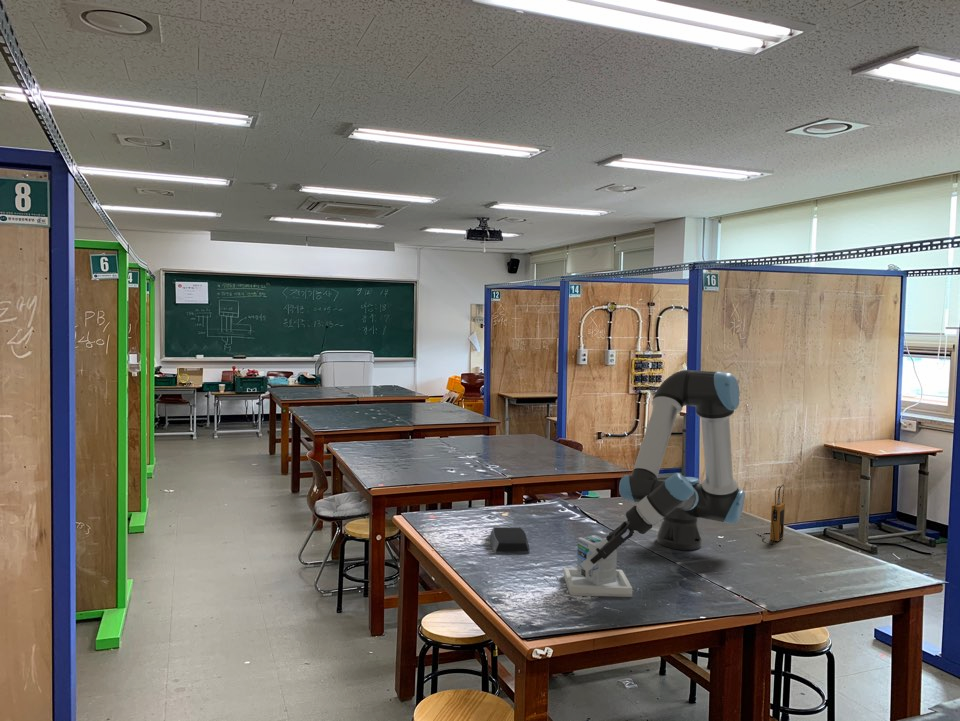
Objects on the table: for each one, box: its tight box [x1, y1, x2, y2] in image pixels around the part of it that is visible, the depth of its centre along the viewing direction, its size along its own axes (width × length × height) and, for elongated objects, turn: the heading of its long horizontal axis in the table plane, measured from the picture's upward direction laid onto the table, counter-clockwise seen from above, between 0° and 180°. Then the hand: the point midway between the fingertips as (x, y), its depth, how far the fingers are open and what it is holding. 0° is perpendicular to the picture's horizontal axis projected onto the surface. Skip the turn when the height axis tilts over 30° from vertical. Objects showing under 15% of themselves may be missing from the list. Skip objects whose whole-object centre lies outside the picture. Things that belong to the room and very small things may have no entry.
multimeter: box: [756, 484, 786, 544], centre depth 244 cm, size 15×10×20 cm
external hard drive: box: [489, 526, 531, 555], centre depth 229 cm, size 13×19×4 cm
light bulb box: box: [576, 534, 618, 585], centre depth 193 cm, size 11×7×11 cm, turn 27°
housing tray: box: [563, 567, 634, 598], centre depth 193 cm, size 14×17×2 cm
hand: (588, 561), depth 194 cm, fingers closed on light bulb box, 12 cm apart
